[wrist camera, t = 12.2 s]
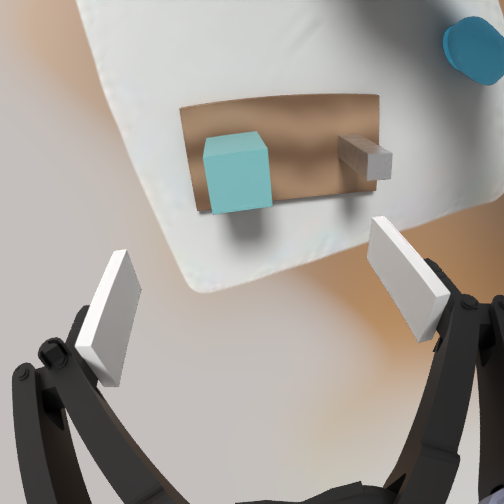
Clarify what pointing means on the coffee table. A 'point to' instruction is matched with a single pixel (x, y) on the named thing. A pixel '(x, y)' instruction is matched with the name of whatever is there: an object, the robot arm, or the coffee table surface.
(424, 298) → the robot arm
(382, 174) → the post
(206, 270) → the coffee table surface
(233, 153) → the teal rectangular prism
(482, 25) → the perfume bottle
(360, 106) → the board
